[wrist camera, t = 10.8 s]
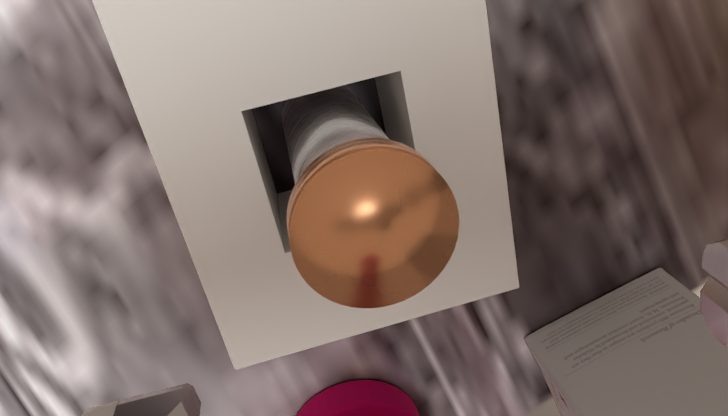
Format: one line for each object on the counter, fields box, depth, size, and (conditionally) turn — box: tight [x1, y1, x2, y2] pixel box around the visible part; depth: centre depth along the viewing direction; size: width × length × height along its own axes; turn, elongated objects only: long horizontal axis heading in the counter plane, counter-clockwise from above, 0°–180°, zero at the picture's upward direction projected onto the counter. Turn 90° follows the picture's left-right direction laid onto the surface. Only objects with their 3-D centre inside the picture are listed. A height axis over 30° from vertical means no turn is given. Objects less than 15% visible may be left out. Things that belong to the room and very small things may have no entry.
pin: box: [281, 85, 459, 308], centre depth 18 cm, size 4×4×10 cm
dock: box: [92, 0, 519, 370], centre depth 20 cm, size 10×12×5 cm
